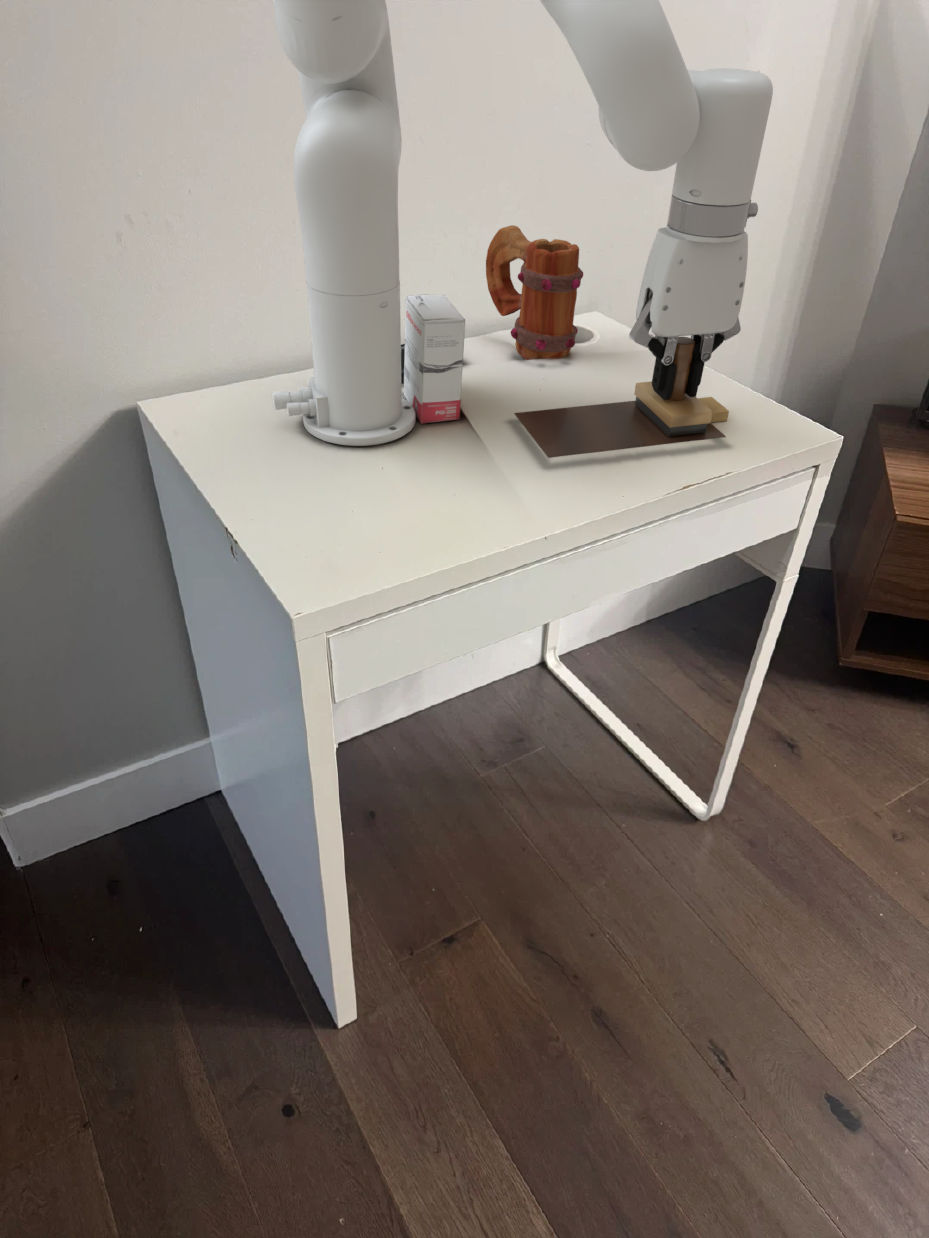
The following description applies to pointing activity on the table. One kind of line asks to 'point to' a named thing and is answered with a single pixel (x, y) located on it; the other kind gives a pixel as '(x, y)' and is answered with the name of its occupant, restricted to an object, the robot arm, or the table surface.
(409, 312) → the ink box
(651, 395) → the wooden rubber stamp
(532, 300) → the mug
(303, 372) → the table surface
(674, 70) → the robot arm
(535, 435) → the board
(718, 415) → the tan rectangular block
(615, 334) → the table surface
